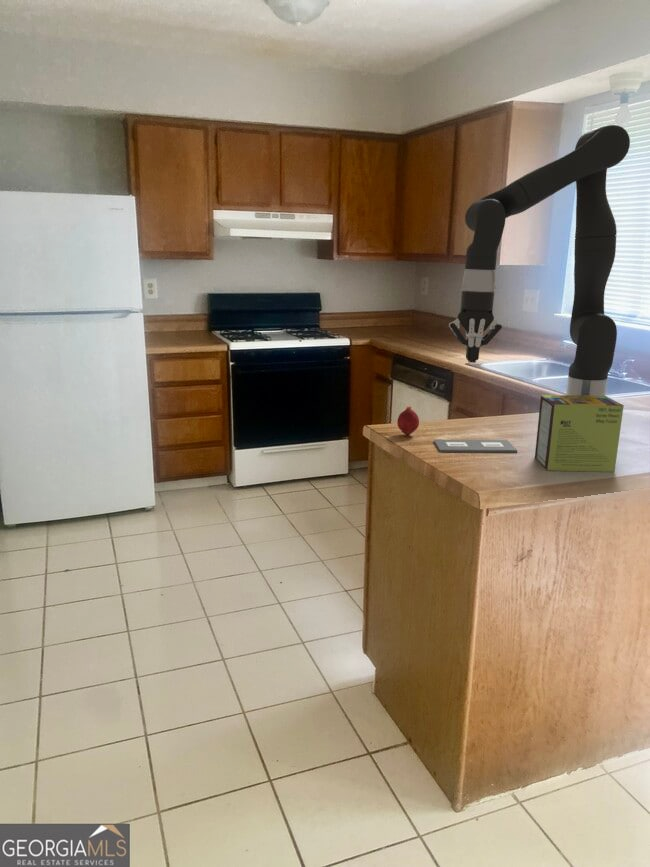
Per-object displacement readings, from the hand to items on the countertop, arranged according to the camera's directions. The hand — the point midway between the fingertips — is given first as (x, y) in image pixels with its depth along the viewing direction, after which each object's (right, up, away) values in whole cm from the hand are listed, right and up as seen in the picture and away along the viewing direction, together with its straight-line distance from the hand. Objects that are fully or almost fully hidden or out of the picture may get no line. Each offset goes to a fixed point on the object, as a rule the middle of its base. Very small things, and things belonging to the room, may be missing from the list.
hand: (471, 362), depth 156 cm
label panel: (+2, -21, +6) cm, 22 cm away
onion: (-14, -18, +16) cm, 28 cm away
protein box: (+22, -25, -7) cm, 34 cm away
